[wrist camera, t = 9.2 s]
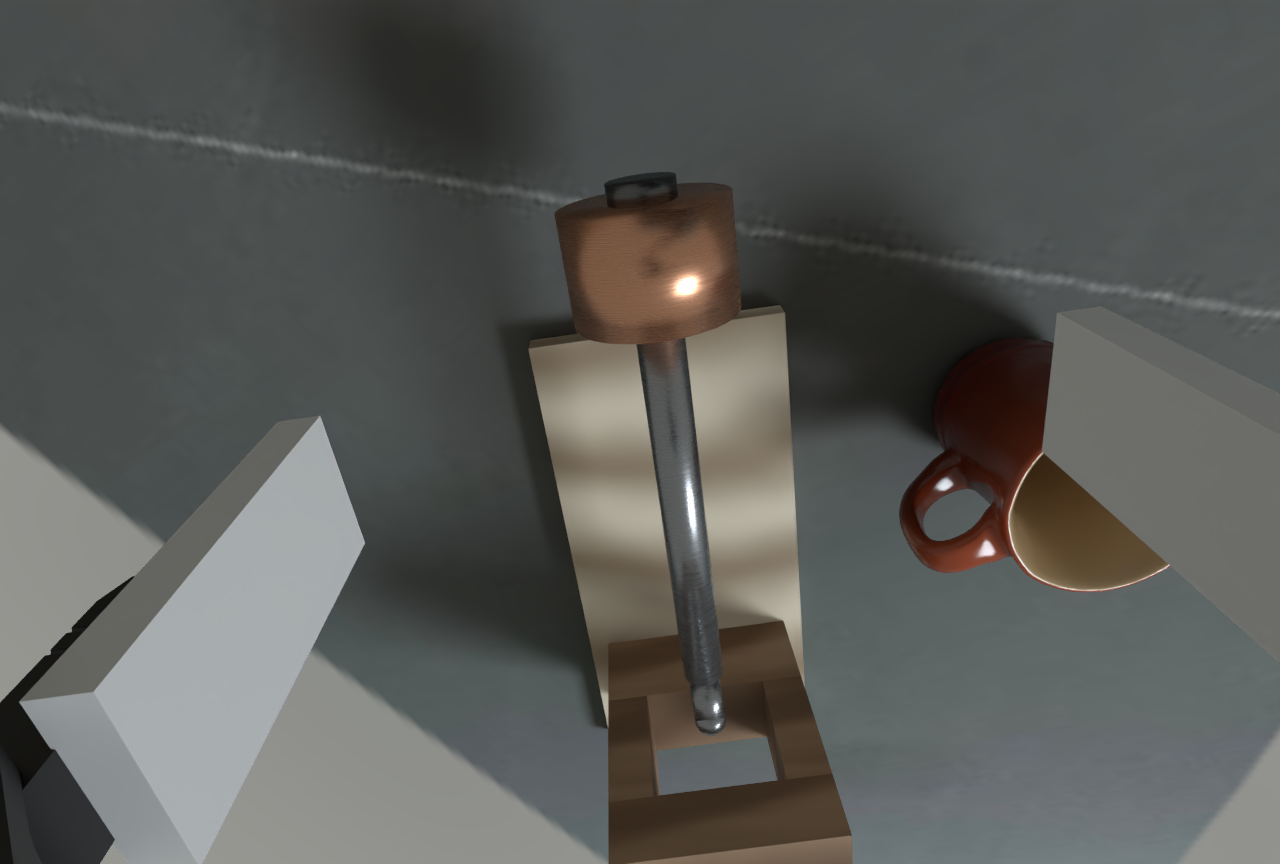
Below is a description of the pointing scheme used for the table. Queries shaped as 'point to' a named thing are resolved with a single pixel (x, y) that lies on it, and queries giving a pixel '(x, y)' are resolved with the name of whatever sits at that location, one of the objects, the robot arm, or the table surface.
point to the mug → (1016, 482)
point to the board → (627, 491)
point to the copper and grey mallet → (663, 362)
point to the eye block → (754, 707)
